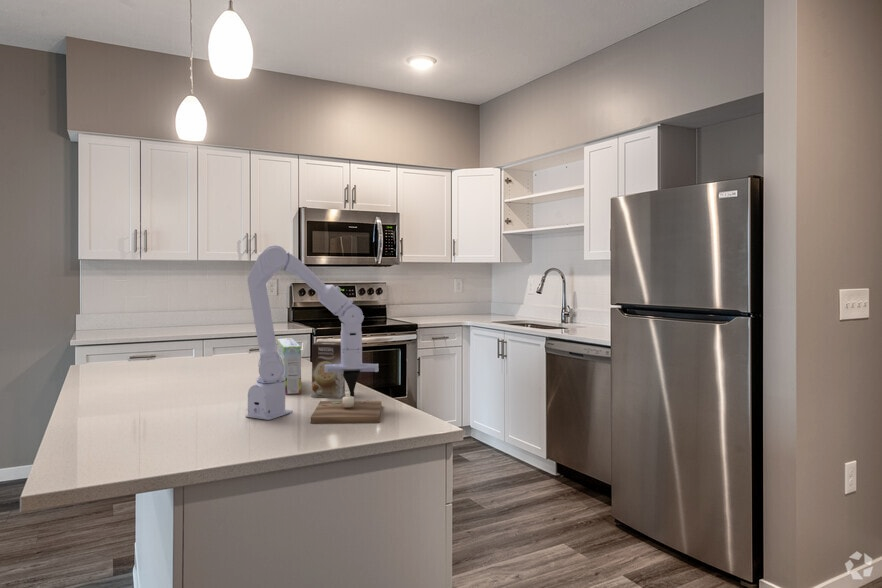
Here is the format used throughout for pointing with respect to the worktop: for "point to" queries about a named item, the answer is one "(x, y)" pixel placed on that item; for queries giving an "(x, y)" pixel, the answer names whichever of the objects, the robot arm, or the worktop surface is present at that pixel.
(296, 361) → the snack box
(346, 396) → the white bulb ended bar
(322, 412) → the board
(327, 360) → the coffee box
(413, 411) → the worktop surface
